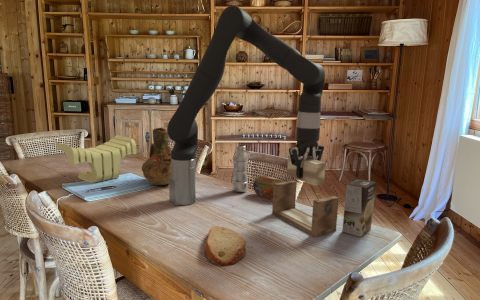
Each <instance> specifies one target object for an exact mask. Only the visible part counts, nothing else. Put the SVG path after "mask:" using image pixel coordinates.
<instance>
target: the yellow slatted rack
mask: <svg viewBox="0 0 480 300" xmlns="http://www.w3.org/2000/svg"><path fill="white" fill-rule="evenodd" d="M55 146H56V147H55V148H56V149H57V150H59V151H61V152H63V153H65V155H66V156H67V158H68V161H69V164H71V165H73V166H75V165H78V164H79V163H85V162H87V163H88V166H89V167H90V169H91V170H89V171H86V172H84V171H83V172H79V173H78V175H77V179H80V180H83V181H85V182H87V181H88V183H90V182H92V183H91V184H94V183H97V182H103V181H107V180H111V179H117V178H119V177H120V166H121V162H122V159H123V158H124V157H126V156H128V155H137V144H136V141H135V139H134V138H132V137H129V136H124V135H119V134H115V136H114V137H113V138H110V140H108V141H106V142H103V144H99V145H97V146H94V147H87V148H78V147H73V146H70V145H67V144H63V143H60V142H55Z"/></svg>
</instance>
